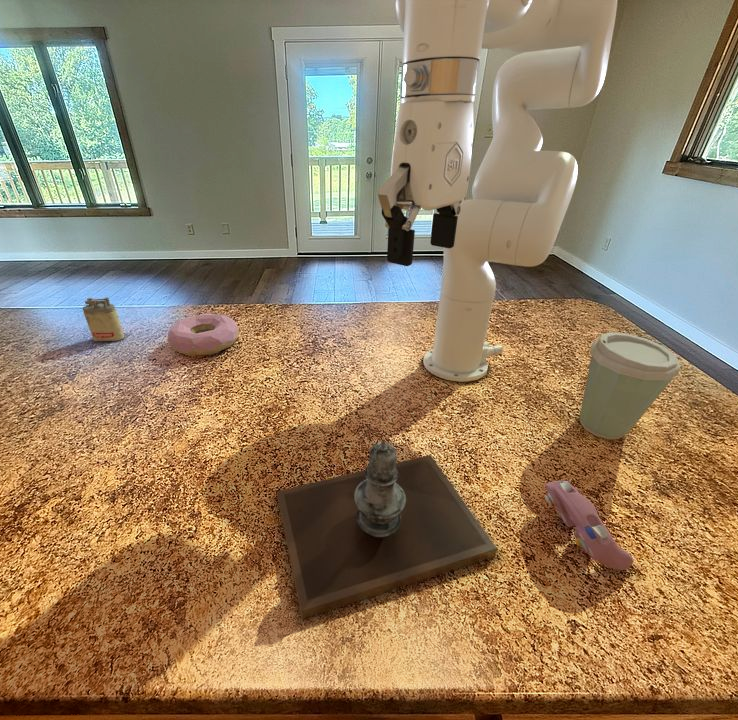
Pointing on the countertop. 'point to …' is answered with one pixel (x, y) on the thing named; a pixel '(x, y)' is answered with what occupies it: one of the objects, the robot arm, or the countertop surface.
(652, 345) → the disposable coffee cup
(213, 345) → the donut
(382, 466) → the stone chess piece
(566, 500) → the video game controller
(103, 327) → the lighter
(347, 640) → the countertop surface
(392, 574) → the board
